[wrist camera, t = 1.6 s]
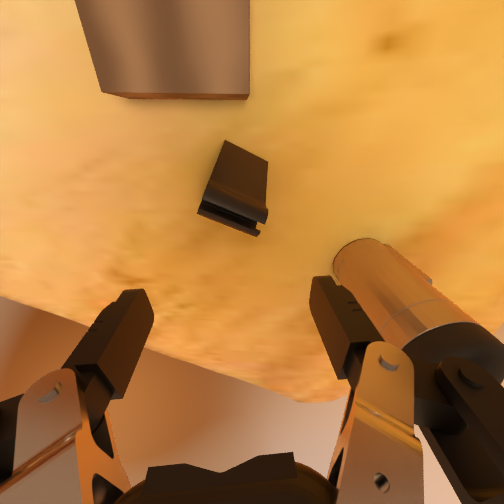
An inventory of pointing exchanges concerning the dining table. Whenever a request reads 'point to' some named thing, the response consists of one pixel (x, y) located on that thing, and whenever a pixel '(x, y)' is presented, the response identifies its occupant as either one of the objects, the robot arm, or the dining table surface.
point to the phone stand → (237, 190)
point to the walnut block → (169, 47)
